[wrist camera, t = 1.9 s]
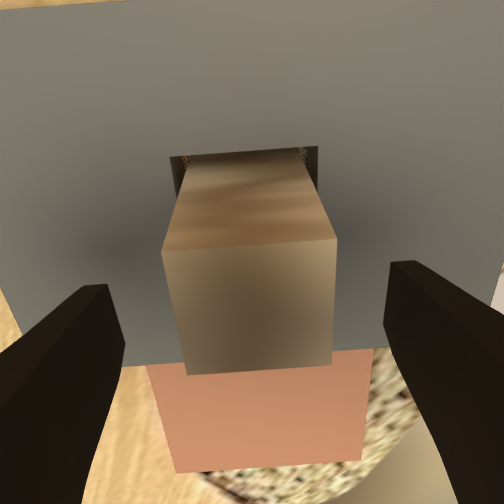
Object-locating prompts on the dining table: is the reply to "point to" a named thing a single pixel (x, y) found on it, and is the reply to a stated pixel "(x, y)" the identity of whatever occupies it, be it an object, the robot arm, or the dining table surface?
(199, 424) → the mat
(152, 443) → the dining table surface
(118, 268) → the pocket plate
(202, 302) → the peg
